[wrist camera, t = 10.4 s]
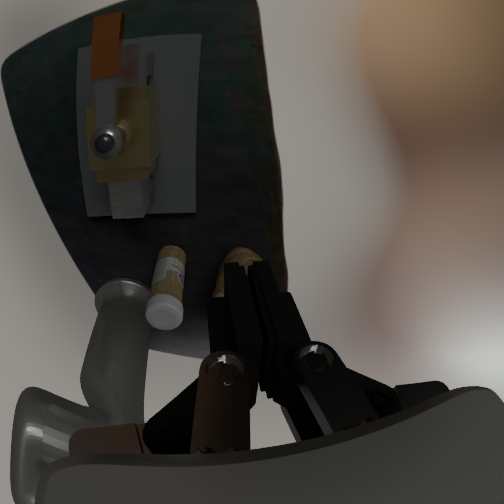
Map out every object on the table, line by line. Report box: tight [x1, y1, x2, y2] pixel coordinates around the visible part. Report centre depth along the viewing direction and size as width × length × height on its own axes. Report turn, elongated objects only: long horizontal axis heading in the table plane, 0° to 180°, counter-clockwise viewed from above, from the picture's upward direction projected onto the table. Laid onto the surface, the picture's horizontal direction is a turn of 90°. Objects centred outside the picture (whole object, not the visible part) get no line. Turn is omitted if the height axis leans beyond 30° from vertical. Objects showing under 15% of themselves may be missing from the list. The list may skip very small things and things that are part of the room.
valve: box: [86, 44, 161, 219], centre depth 26 cm, size 20×7×9 cm, turn 176°
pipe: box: [212, 247, 263, 297], centre depth 43 cm, size 9×16×10 cm, turn 4°
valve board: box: [76, 34, 202, 217], centre depth 31 cm, size 24×16×2 cm, turn 176°
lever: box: [90, 12, 126, 160], centre depth 19 cm, size 14×3×2 cm, turn 177°
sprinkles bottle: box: [146, 245, 186, 330], centre depth 37 cm, size 5×5×13 cm
